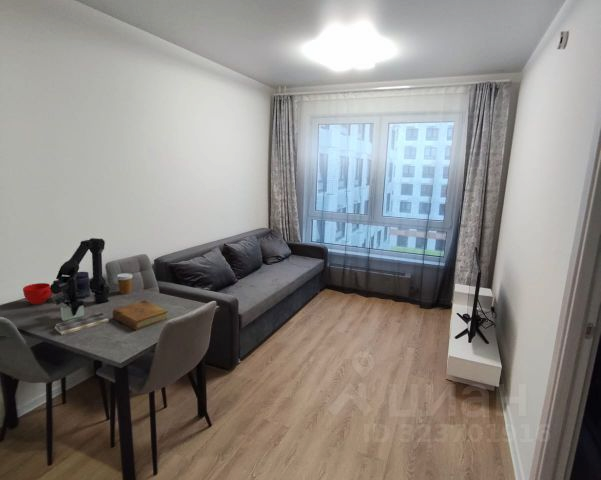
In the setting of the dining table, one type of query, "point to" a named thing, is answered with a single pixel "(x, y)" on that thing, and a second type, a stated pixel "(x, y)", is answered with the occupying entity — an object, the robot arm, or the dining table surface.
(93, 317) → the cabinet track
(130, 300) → the dining table surface
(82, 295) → the storage jar
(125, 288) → the disposable coffee cup
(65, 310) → the pale green rectangular box
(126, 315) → the diary
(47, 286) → the ceramic cup
